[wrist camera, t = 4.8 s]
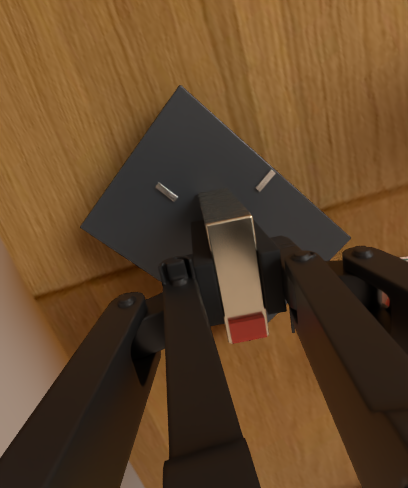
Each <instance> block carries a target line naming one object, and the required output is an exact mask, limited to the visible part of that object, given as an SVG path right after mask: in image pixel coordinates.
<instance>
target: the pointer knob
mask: <svg viewBox="0 0 408 488" xmlns="http://www.w3.org/2000/svg"><path fill="white" fill-rule="evenodd" d="M198 197H199V202H200V207H201V212H202V217H203V221H204V226H205V230H206V235H207V239H208V243H209V248H210V252H211V257H212V260H213V265H214V270H215V275H216V280H217V286H218V291H219V296H220V301H221V306H222V311H223V316H224V321H225V328H226V333H227V337H228V342H229V343H233V344H234V343H239V342H244V341H249V340H254V339H259V338H264V337H267V336H269V329H268V322H267V315H266V308H265V301H264V294H263V287H262V280H261V272H260V265H259V258H258V251H257V243H256V236H255V229H254V222H253V216H252V215H251V214H250V213H249V211H248V210H247V209H246V208H245V207H244V206H243V205H242V204H241V202H240V201H239V200H238V199H237V198H236V197H235V196H234V195H233V194H232V192H231V191H230V190H229V189H228V188H221V189H216V190H212V191H207V192H202V193H199V194H198Z"/></svg>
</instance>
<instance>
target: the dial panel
mask: <svg viewBox="0 0 408 488" xmlns="http://www.w3.org/2000/svg"><path fill="white" fill-rule="evenodd" d="M221 188H228V189H229V190H230V191H231V192H232V194H233V195H234V196H235V197H236V198H237V199H238V200H239V201H240V202H241V204H242V205H243V206H244V207H245V208H246V209H247V210H248V211H249V213H250V214H251V215H252V216H253V219H254V221H255V222H256V223H257V224H258V225H259V226H260V227H261V229H262V230H263V231H264V232H265V233H266V234H267V236H268V237H269V238H270V237H275V236H280V235H282V236H285V237H288V238H290V239H291V240H292V241H293V242H294V243H295V244H296V245H297V246H298V247H299V248H300V249H301V250H302V251H303V250H305V251H313V252H316V253H317V254H319V255H320V256H321V257H322V259H323V260H324V261H329V260H330V259H331V258H332V257H333V256H334V255H335V254H336V253H337V252H338V251H339V250H340V249H341V248H342V247H343V246H344V245H345V244H346V243H347V242H348V241H349V240H350V239H351V237H350V236H349V235H348V234H346V233H345V232H344V231H343V230H342V229H341V228H340V227H339V226H338V225H336V224H335V223H334V222H333V221H332V220H331V219H330V218H329V217H328V216H326V215H325V214H324V213H323V212H322V211H321V210H320V209H319V208H317V207H316V206H315V205H314V204H313V203H312V202H311V201H310V200H309V199H307V198H306V197H305V196H304V195H303V194H302V193H301V192H300V191H298V190H297V189H296V188H295V187H294V186H293V185H292V184H291V183H290V182H288V181H287V180H286V179H285V178H284V177H283V176H282V175H281V174H279V173H278V172H277V171H276V170H275V169H274V168H273V167H272V166H271V165H269V164H268V163H267V162H266V161H265V160H264V159H263V158H262V157H261V156H259V155H258V154H257V153H256V152H255V151H254V150H253V149H252V148H250V147H249V146H248V145H247V144H246V143H245V142H244V141H243V140H242V139H240V138H239V137H238V136H237V135H236V134H235V133H234V132H233V131H231V130H230V129H229V128H228V127H227V126H226V125H225V124H224V123H223V122H221V121H220V120H219V119H218V118H217V117H216V116H215V115H214V114H212V113H211V112H210V111H209V110H208V109H207V108H206V107H205V106H204V105H202V104H201V103H200V102H199V101H198V100H197V99H196V98H195V97H193V96H192V95H191V94H190V93H189V92H188V91H187V90H186V89H185V88H183V87H182V86H181V85H179V86H178V88H177V89H176V91H175V92H174V94H173V95H172V96H171V98H170V99H169V101H168V102H167V103H166V105H165V106H164V108H163V109H162V111H161V112H160V113H159V115H158V116H157V118H156V119H155V121H154V122H153V123H152V125H151V126H150V128H149V129H148V131H147V132H146V133H145V135H144V136H143V138H142V139H141V141H140V142H139V143H138V145H137V146H136V148H135V149H134V151H133V152H132V153H131V155H130V156H129V158H128V159H127V161H126V162H125V163H124V165H123V166H122V168H121V169H120V170H119V172H118V173H117V175H116V176H115V178H114V179H113V180H112V182H111V183H110V185H109V186H108V188H107V189H106V190H105V192H104V193H103V195H102V196H101V198H100V199H99V200H98V202H97V203H96V205H95V206H94V208H93V209H92V210H91V212H90V213H89V215H88V216H87V218H86V219H85V220H84V222H83V223H82V225H81V226H80V228H82V229H83V230H85V231H86V232H88V233H89V234H91V235H92V236H94V237H95V238H97V239H98V240H99V241H101V242H102V243H104V244H105V245H107V246H108V247H110V248H111V249H113V250H114V251H116V252H117V253H119V254H120V255H122V256H123V257H125V258H126V259H128V260H129V261H131V262H132V263H134V264H135V265H137V266H138V267H140V268H141V269H143V270H144V271H146V272H147V273H149V274H150V275H152V276H153V277H155V278H156V279H158V280H159V281H161V278H160V274H159V270H158V265H159V263H161V262H162V261H163V260H165V259H168V258H171V257H174V256H184V255H189V254H193V252H192V236H191V222H193V221H198V220H203V217H202V212H201V207H200V202H199V197H198V194H199V193H202V192H207V191H212V190H216V189H221ZM161 282H162V281H161ZM285 301H286V299H285ZM286 304H287V301H286ZM276 314H277V313H275V314H270V315H268V313H267V311H266V315H267V322H269V321H270V320H271V319H272V318H273V317H274V316H275V315H276ZM224 324H225V323H224ZM249 341H251V340H249Z"/></svg>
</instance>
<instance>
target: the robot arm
mask: <svg viewBox="0 0 408 488" xmlns="http://www.w3.org/2000/svg"><path fill="white" fill-rule="evenodd" d="M253 222H254V229H255V236H256V243H257V251H258V258H259V265H260V272H261V280H262V287H263V294H264V301H265V308H266V311H267V313H268V315H270V314H275V313H280V312H285V311H287V310H286V301H287V303H288V304H289V309H290V318H291V328H292V333H295V329H296V331H297V334H298V336H299V339H300V341H301V343H302V346H303V348H304V350H305V353H306V355H307V358H308V360H309V362H310V365H311V367H312V370H313V372H314V374H315V377H316V379H317V381H318V384H319V386H320V389H321V391H322V393H323V396H324V398H325V400H326V403H327V405H328V408H329V410H330V412H331V415H332V417H333V419H334V422H335V424H336V427H337V429H338V431H339V434H340V436H341V438H342V441H343V443H344V446H345V448H346V450H347V453H348V455H349V457H350V460H351V462H352V465H353V467H354V469H355V472H356V474H357V476H358V479H359V481H360V484H361V486H362V488H408V261H405V260H403V259H401V258H398V257H396V256H393V255H391V254H389V253H386V252H384V251H381V250H379V249H376V248H372V247H366V246H361V247H360V246H356V247H353V248H349V249H346V250H344V251H343V252H342V257H343V260H340V261H324V260H323V259H322V257H321V256H320V255H319V254H317V253H316V252H313V251H305V250H303V251H302V250H301V249H300V248H299V247H298V246H297V245H296V244H295V243H294V242H293V241H292V240H291V239H290V238H288V237H285V236H282V235H280V236H275V237H270V238H269V237H268V236H267V234H266V233H265V232H264V231H263V230H262V229H261V227H260V226H259V225H258V224H257V223H256V222H255V221H254V219H253ZM191 236H192V252H193V254H189V255H184V256H174V257H171V258H168V259H165V260H163V261H162V262H161V263H159V265H158V270H159V274H160V278H161V281H162V285H163V292H162V293H160V294H158V295H157V296H154V297H152V298H149V299H146V300H145V297H144V295H143V294H142V293H139V292H131V293H125V294H122V295H120V296H118V297H117V298H115V299H114V300H113V301H112V302H111V303H110V304H109V305H108V307H107V308H106V309H105V311H104V312H103V314H102V315H101V316H100V318H99V319H98V321H97V322H96V324H95V325H94V326H93V328H92V329H91V331H90V332H89V333H88V335H87V336H86V338H85V339H84V340H83V342H82V343H81V345H80V346H79V348H78V349H77V350H76V352H75V353H74V355H73V356H72V357H71V359H70V360H69V362H68V363H67V365H66V366H65V367H64V369H63V370H62V372H61V373H60V375H59V376H58V377H57V379H56V380H55V381H54V383H53V384H52V386H51V387H50V389H49V390H48V391H47V393H46V394H45V396H44V397H43V398H42V400H41V401H40V403H39V404H38V406H37V407H36V408H35V410H34V411H33V413H32V414H31V415H30V417H29V418H28V420H27V421H26V423H25V424H24V425H23V427H22V428H21V430H20V431H19V432H18V434H17V435H16V437H15V438H14V439H13V441H12V442H11V444H10V445H9V447H8V448H7V449H6V451H5V452H4V454H3V455H2V456H1V458H0V488H120V486H121V482H122V479H123V476H124V473H125V469H126V466H127V463H128V460H129V457H130V454H131V450H132V447H133V444H134V441H135V438H136V434H137V431H138V428H139V425H140V422H141V418H142V415H143V412H144V409H145V406H146V402H147V399H148V396H149V393H150V390H151V386H152V383H153V380H154V377H155V374H156V370H157V367H158V364H159V361H160V358H161V351H160V350H163V349H165V356H166V382H167V407H168V432H169V460H167V461H165V462H164V467H163V488H261V487H260V484H259V480H258V477H257V474H256V471H255V467H254V464H253V461H252V457H251V454H250V451H249V448H248V445H247V442H246V440H245V438H243V435H242V432H241V429H240V425H239V422H238V418H237V415H236V412H235V408H234V405H233V402H232V398H231V395H230V391H229V388H228V385H227V381H226V378H225V375H224V371H223V368H222V364H221V361H220V358H219V354H218V351H217V348H216V344H215V341H214V337H213V334H212V331H211V327H210V326H214V325H219V324H224V323H225V321H224V316H223V311H222V306H221V301H220V296H219V291H218V286H217V280H216V275H215V270H214V265H213V260H212V257H211V252H210V248H209V243H208V239H207V235H206V230H205V226H204V221H203V220H198V221H193V222H191ZM383 292H384V293H385V294H386V295H387V296H388V298H389V300H390V302H389V306H387V305H386V304H384V303H382V294H383ZM285 299H286V301H285Z"/></svg>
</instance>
